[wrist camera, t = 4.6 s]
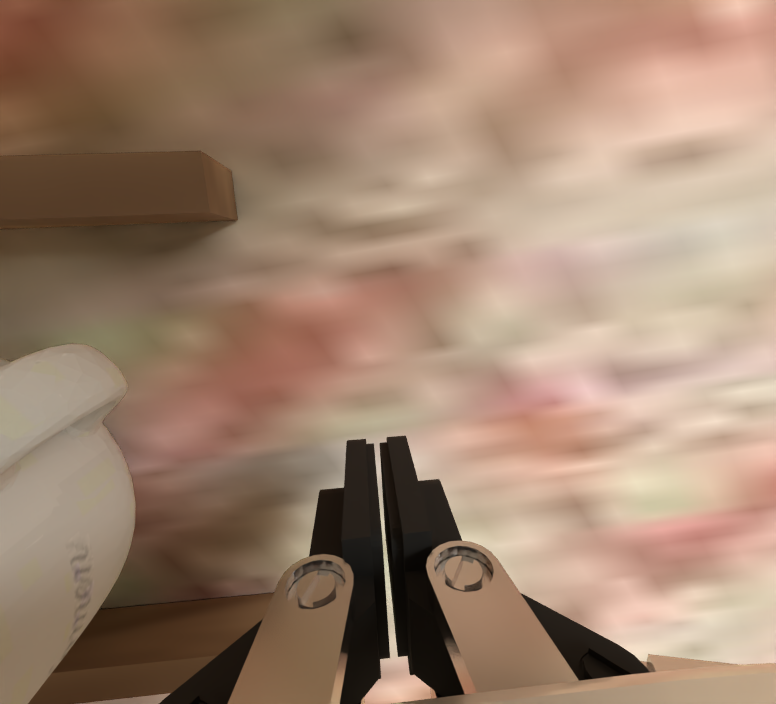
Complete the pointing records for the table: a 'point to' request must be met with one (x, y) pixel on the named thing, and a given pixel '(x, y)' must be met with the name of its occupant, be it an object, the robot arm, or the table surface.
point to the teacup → (57, 507)
